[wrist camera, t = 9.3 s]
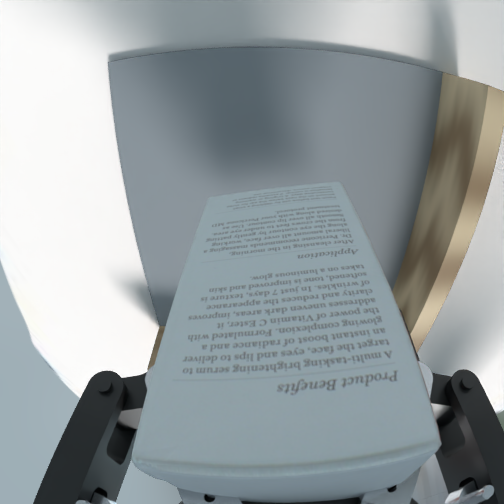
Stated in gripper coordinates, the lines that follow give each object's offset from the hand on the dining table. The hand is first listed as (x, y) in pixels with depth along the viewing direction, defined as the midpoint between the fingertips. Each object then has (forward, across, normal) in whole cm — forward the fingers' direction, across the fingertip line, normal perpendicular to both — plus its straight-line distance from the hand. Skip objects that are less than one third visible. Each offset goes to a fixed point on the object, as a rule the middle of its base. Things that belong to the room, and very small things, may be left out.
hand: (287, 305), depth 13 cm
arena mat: (+9, 0, +1) cm, 9 cm away
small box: (+3, 0, 0) cm, 3 cm away
